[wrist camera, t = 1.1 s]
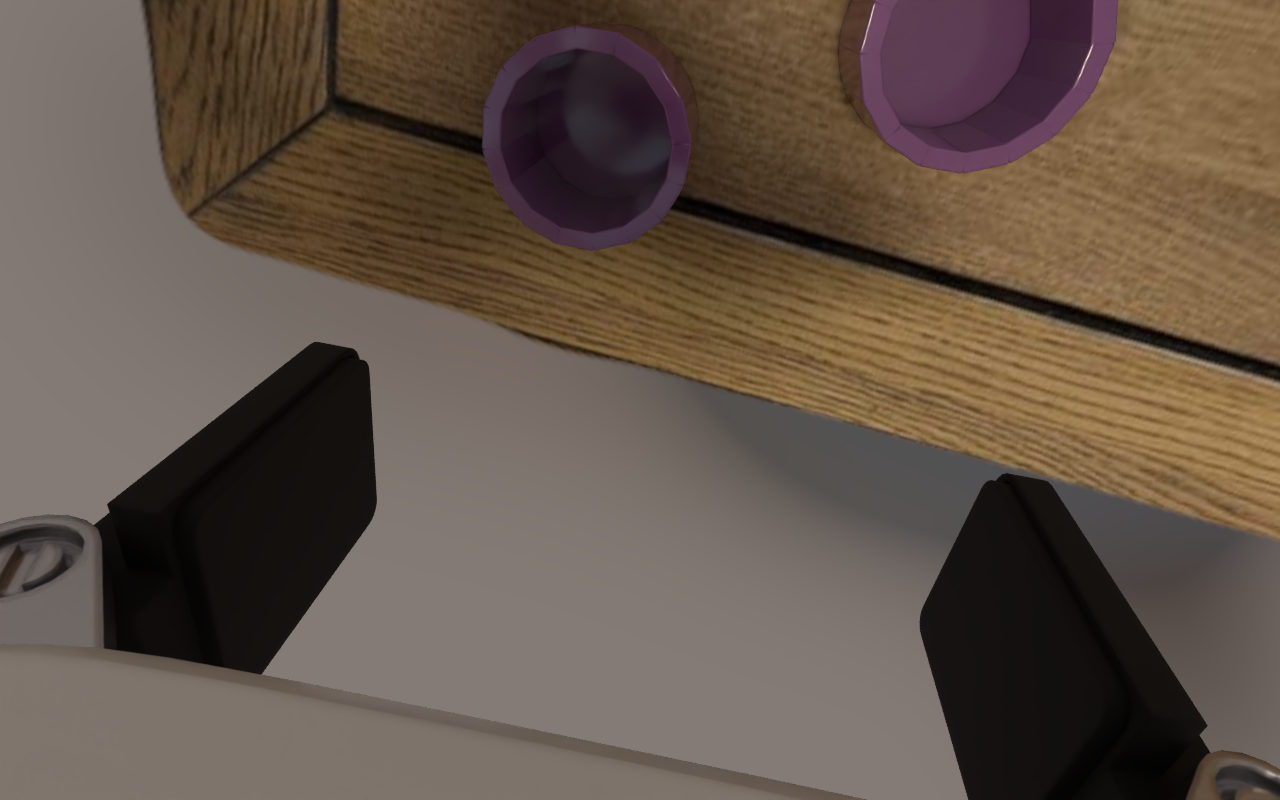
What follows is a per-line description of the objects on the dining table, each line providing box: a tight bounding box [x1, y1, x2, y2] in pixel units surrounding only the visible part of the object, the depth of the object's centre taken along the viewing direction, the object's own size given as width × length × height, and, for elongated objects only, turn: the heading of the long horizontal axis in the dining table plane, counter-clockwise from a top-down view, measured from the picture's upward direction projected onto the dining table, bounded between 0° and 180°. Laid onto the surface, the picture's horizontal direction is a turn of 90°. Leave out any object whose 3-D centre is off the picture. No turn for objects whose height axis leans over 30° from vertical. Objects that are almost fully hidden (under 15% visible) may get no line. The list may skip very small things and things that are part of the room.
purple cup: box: [482, 22, 699, 251], centre depth 23 cm, size 6×6×5 cm
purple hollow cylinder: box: [839, 0, 1118, 173], centre depth 21 cm, size 6×6×5 cm
